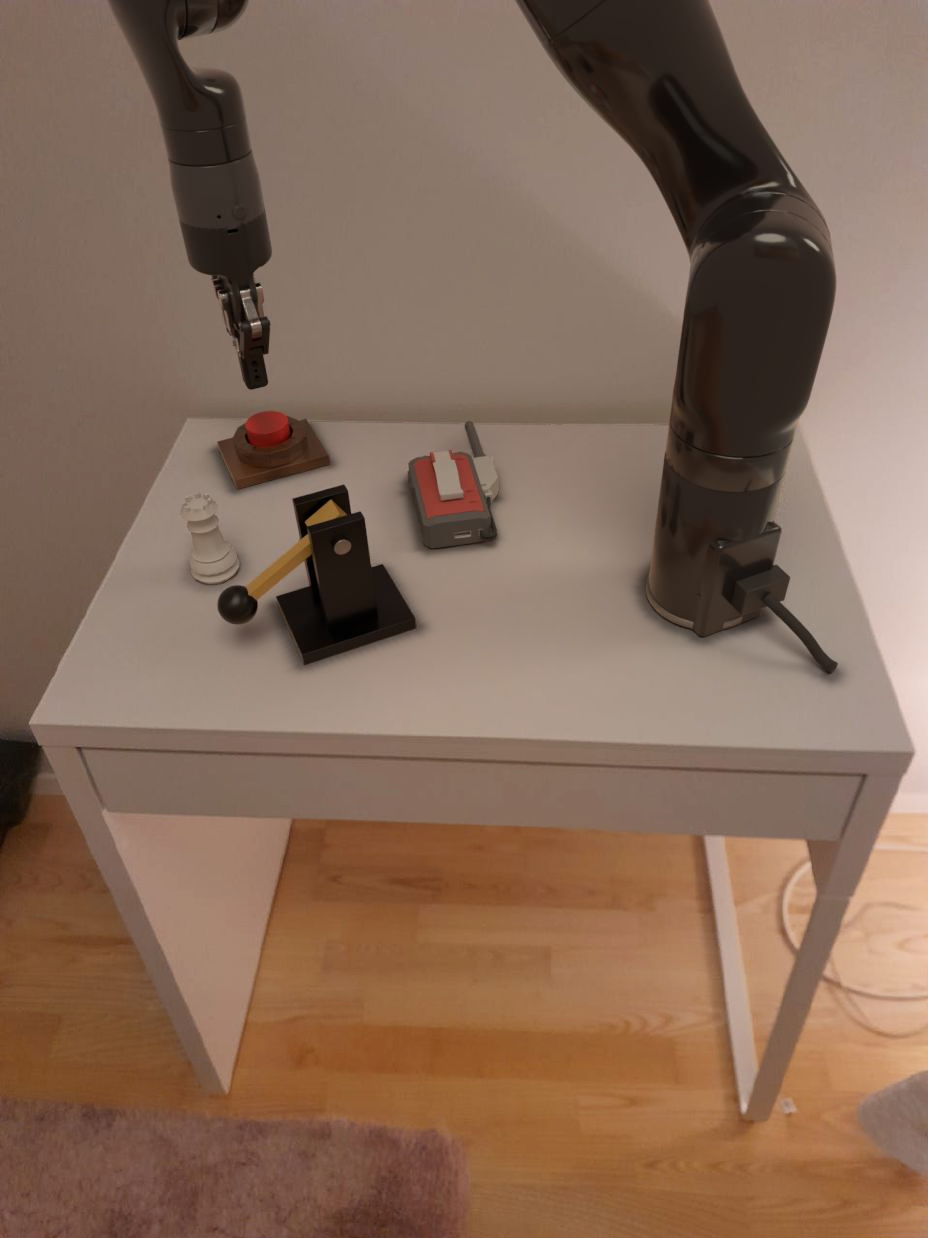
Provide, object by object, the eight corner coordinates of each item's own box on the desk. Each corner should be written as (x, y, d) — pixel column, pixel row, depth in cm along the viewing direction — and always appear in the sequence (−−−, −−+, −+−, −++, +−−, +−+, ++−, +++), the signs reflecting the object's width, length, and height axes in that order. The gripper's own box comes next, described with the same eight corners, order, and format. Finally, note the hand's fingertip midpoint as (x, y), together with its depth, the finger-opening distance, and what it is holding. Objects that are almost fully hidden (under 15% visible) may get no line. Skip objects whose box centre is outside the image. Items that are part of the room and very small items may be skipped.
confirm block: (307, 427, 104) (303, 403, 102) (330, 464, 99) (326, 440, 97) (219, 450, 102) (213, 426, 99) (237, 489, 96) (231, 465, 94)
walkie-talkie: (518, 546, 88) (478, 432, 102) (518, 508, 85) (477, 396, 99) (425, 559, 87) (398, 442, 101) (422, 521, 84) (395, 406, 98)
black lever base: (304, 665, 78) (280, 555, 70) (278, 606, 83) (252, 497, 75) (416, 628, 80) (405, 518, 72) (383, 573, 86) (370, 465, 78)
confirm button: (284, 421, 100) (281, 406, 99) (295, 441, 98) (293, 426, 96) (243, 431, 99) (240, 416, 98) (254, 452, 96) (251, 437, 95)
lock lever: (240, 638, 76) (213, 620, 74) (231, 614, 78) (205, 595, 76) (362, 536, 75) (338, 514, 72) (349, 514, 77) (325, 492, 75)
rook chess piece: (250, 570, 87) (232, 500, 81) (208, 593, 85) (187, 522, 79) (224, 548, 89) (205, 479, 84) (182, 570, 87) (160, 500, 82)
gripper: (163, 190, 86) (204, 364, 98) (194, 242, 77) (236, 426, 89) (243, 176, 88) (274, 348, 100) (283, 225, 79) (312, 407, 91)
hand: (256, 384), depth 94 cm, fingers closed
